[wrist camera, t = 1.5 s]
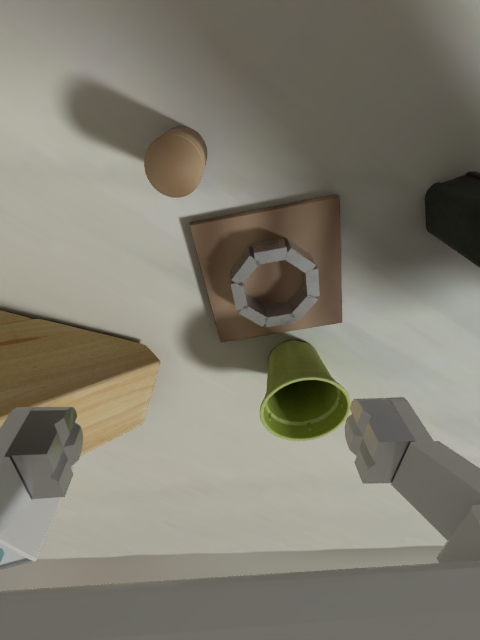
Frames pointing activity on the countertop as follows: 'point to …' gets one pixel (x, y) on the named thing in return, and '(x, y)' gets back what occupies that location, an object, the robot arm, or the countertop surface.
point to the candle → (456, 214)
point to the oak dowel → (176, 162)
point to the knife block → (75, 375)
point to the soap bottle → (27, 533)
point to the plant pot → (301, 394)
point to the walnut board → (272, 263)
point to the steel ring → (283, 310)
